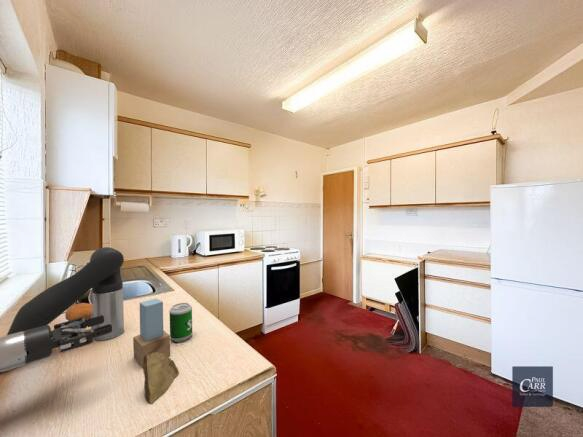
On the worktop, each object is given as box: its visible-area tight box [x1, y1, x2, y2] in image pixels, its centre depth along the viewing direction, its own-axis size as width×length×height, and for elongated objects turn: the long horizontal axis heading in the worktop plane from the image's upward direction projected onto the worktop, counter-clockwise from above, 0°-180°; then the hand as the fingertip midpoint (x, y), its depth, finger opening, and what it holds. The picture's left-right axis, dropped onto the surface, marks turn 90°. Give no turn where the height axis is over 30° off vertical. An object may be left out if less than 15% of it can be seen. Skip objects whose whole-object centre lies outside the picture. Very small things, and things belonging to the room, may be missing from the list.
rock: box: [142, 352, 180, 405], centre depth 65 cm, size 11×9×10 cm
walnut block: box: [132, 329, 171, 369], centre depth 77 cm, size 8×8×7 cm
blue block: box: [139, 297, 164, 342], centre depth 77 cm, size 5×5×11 cm
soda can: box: [169, 302, 193, 343], centre depth 89 cm, size 8×8×12 cm
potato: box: [64, 302, 93, 321], centre depth 103 cm, size 9×11×8 cm
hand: (107, 323), depth 68 cm, fingers open, 8 cm apart
